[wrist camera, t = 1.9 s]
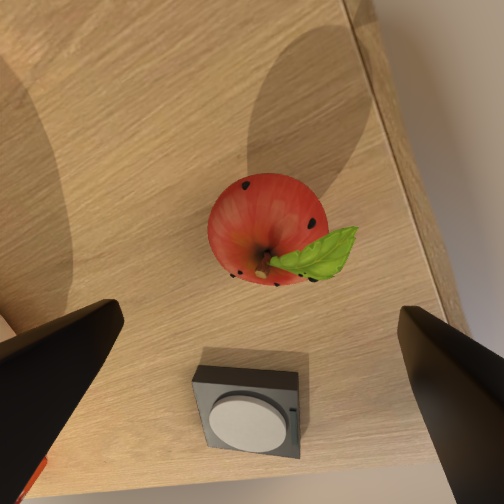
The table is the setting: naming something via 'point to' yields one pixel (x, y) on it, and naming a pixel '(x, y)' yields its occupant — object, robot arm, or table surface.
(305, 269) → the spotted red fruit
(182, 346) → the table surface
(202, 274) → the table surface
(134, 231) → the table surface
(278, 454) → the scale
